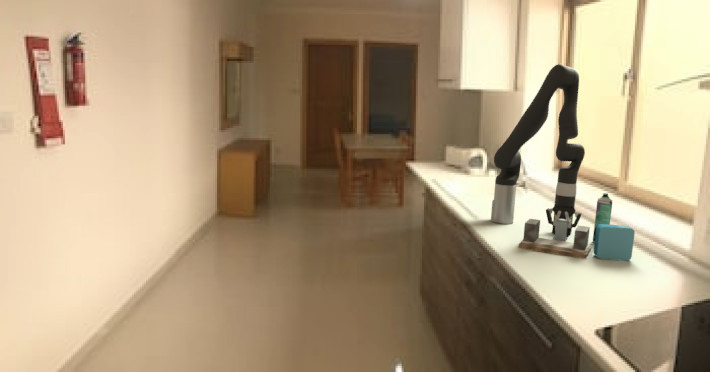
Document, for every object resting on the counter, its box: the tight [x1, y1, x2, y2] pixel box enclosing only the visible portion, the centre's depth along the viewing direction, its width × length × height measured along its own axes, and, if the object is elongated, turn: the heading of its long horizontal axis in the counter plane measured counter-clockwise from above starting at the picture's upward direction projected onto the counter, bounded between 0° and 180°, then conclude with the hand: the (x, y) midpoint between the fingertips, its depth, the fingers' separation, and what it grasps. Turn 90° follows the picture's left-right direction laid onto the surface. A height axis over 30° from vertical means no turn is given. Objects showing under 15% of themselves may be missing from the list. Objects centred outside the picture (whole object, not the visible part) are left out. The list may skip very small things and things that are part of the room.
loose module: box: [554, 219, 569, 242], centre depth 233 cm, size 4×7×8 cm, turn 152°
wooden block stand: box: [518, 218, 592, 260], centre depth 220 cm, size 24×14×9 cm, turn 62°
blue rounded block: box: [593, 224, 636, 262], centre depth 210 cm, size 12×4×12 cm, turn 83°
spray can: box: [592, 192, 613, 244], centre depth 231 cm, size 6×6×20 cm
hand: (561, 235), depth 233 cm, fingers closed on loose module, 4 cm apart
